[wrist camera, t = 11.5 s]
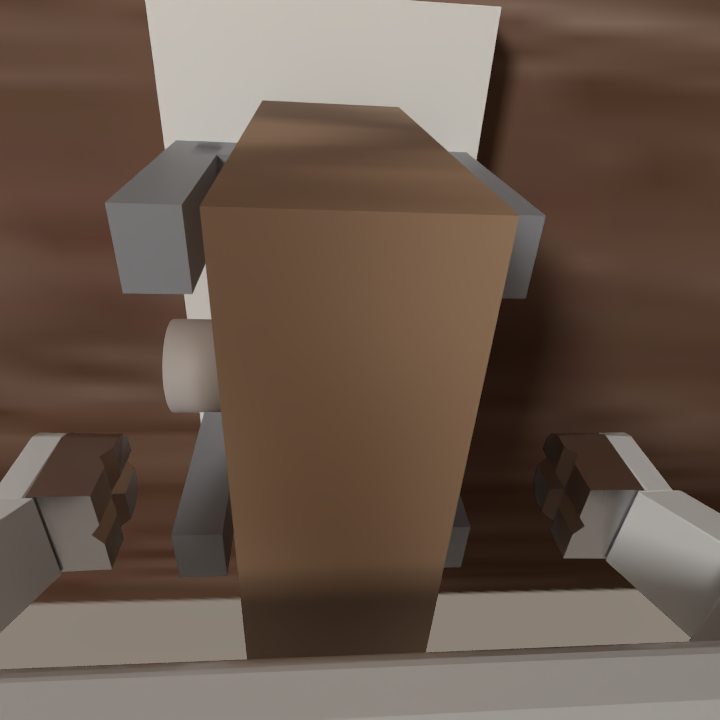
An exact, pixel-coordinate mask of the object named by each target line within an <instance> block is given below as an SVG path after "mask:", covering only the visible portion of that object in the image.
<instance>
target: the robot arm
mask: <svg viewBox="0 0 720 720" xmlns="http://www.w3.org/2000/svg"><path fill="white" fill-rule="evenodd" d="M543 450H544V452H545V454H546V456H547V458H546V459H545V460H544V461H543V462H541V463H540V464H539V465H538V466H537V470H536V474H535V477H534V492H535V496H536V500H537V503H538V505H539V508H540V510H541V512H542V513H543V514H545V515H546V516H547V517H549V518H550V519H551V520H553V523H552V525H551V528H550V531H551V534H552V536H553V538H554V540H555V542H556V544H557V546H558V548H559V550H560V553H561V555H562V557H563V558H607V559H606V561H607V562H608V563H609V564H610V565H611V566H612V567H613V568H614V569H615V570H617V571H618V572H619V573H620V574H621V575H622V576H623V577H624V578H625V579H627V580H628V581H629V582H630V583H631V584H632V585H633V586H634V587H635V588H636V589H638V590H639V591H640V592H641V593H642V594H643V595H644V596H645V597H647V598H648V599H649V600H650V601H651V602H652V603H653V604H654V605H655V606H656V607H658V608H659V609H660V610H661V611H662V612H663V613H664V614H665V615H666V616H668V617H669V618H670V619H671V620H672V621H673V622H674V623H675V624H676V625H678V626H679V627H680V628H681V629H682V630H683V631H684V632H685V633H686V634H687V635H689V636H690V637H691V639H690V641H689V642H670V643H647V644H646V643H645V644H619V645H594V646H570V647H547V648H524V649H501V650H478V651H477V650H475V651H454V652H453V651H451V652H427V653H400V654H375V655H349V656H324V657H298V658H273V659H247V660H223V661H199V662H174V663H149V664H124V665H98V666H76V667H75V666H73V667H49V668H24V669H0V720H720V513H718V512H716V511H715V510H713V509H711V508H710V507H708V506H706V505H704V504H703V503H701V502H699V501H698V500H696V499H694V498H692V497H691V496H689V495H687V494H686V493H684V492H682V491H673V490H672V489H671V488H670V486H669V485H668V484H667V482H666V481H665V480H664V478H663V477H662V476H661V475H660V473H659V472H658V471H657V469H656V468H655V467H654V466H653V464H652V463H651V462H650V460H649V459H648V458H647V456H646V455H645V454H644V453H643V451H642V450H641V449H640V447H639V446H638V445H637V444H636V442H635V441H634V440H633V438H632V437H631V436H630V435H628V434H626V433H625V432H610V433H599V434H598V433H570V434H550V435H549V437H548V438H547V439H546V442H545V445H544V448H543ZM130 452H131V449H130V445H129V441H128V438H127V436H125V435H123V434H95V433H67V434H65V433H38V434H37V435H35V436H33V437H32V438H31V439H30V440H29V442H28V443H27V445H26V446H25V448H24V449H23V451H22V452H21V454H20V455H19V456H18V458H17V459H16V461H15V462H14V464H13V465H12V467H11V468H10V469H9V471H8V472H7V474H6V475H5V477H4V478H3V480H2V481H1V483H0V632H1V631H2V630H4V629H5V628H6V626H8V625H9V624H10V623H11V622H12V621H13V620H14V619H15V618H16V617H17V616H18V615H19V614H20V613H21V612H22V611H23V610H25V608H27V607H28V606H29V605H30V604H31V603H32V602H33V601H34V600H35V599H36V598H37V597H38V596H39V595H40V594H41V593H42V592H43V591H45V590H46V589H47V588H48V587H49V586H50V585H51V584H52V583H53V582H54V581H55V580H56V579H57V578H58V577H59V576H60V575H61V572H65V571H84V570H104V569H112V567H113V565H114V562H115V560H116V557H117V554H118V552H119V549H120V546H121V544H122V541H123V534H122V530H121V526H122V525H123V524H124V523H126V522H127V521H128V520H129V519H131V517H132V514H133V511H134V508H135V504H136V498H137V491H138V488H137V475H136V471H135V468H134V467H133V466H132V465H130V464H129V463H128V462H127V459H128V457H129V454H130Z"/></svg>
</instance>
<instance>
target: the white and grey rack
mask: <svg viewBox="0 0 720 720" xmlns="http://www.w3.org/2000/svg"><path fill="white" fill-rule="evenodd" d="M145 3H146V10H147V18H148V25H149V33H150V40H151V48H152V55H153V63H154V71H155V78H156V86H157V93H158V101H159V108H160V116H161V123H162V131H163V139H164V146H165V150H164V151H163V152H162V153H161V154H160V155H159V156H158V157H156V158H155V159H154V160H153V161H152V162H151V163H150V164H148V165H147V166H146V167H145V168H144V169H143V170H142V171H140V172H139V173H138V174H137V175H136V176H135V177H134V178H132V179H131V180H130V181H129V182H128V183H127V184H126V185H124V186H123V187H122V188H121V189H120V190H119V191H118V192H116V193H115V194H114V195H113V196H112V197H111V198H110V199H109V200H107V201H106V202H105V205H106V210H107V215H108V220H109V225H110V231H111V236H112V241H113V246H114V251H115V256H116V261H117V266H118V271H119V276H120V281H121V286H122V291H123V293H141V294H184V297H185V305H186V312H187V319H211V311H210V301H209V292H208V283H207V273H206V264H205V254H204V245H203V235H202V226H201V216H200V207H199V206H200V205H201V203H202V201H203V199H204V198H205V196H206V194H207V193H208V191H209V189H210V188H211V186H212V184H213V183H214V181H215V179H216V178H217V176H218V174H219V173H220V171H221V169H222V168H223V166H224V164H225V163H226V161H227V159H228V158H229V156H230V154H231V152H232V151H233V149H234V147H235V146H236V144H237V142H238V141H239V139H240V137H241V136H242V134H243V132H244V131H245V129H246V127H247V126H248V124H249V122H250V121H251V119H252V117H253V116H254V114H255V112H256V111H257V109H258V107H259V105H260V104H261V102H262V100H267V101H287V102H307V103H327V104H347V105H367V106H387V107H399V108H400V109H402V110H403V111H404V112H405V113H406V114H407V115H408V116H409V117H410V118H412V119H413V120H414V121H415V122H416V123H417V124H418V125H419V126H420V127H422V128H423V129H424V130H425V131H426V132H427V133H428V134H429V135H430V136H432V137H433V138H434V139H435V140H436V141H437V142H438V143H439V144H440V145H442V146H443V147H444V148H445V149H446V150H447V151H448V152H449V153H450V154H451V155H453V156H454V157H455V158H456V159H457V160H458V161H459V162H460V163H461V164H463V165H464V166H465V167H466V168H467V169H468V170H469V171H470V172H471V173H473V174H474V175H475V176H476V177H477V178H478V179H479V180H480V181H481V182H483V183H484V184H485V185H486V186H487V187H488V188H489V189H490V190H491V191H493V192H494V193H495V194H496V195H497V196H498V197H499V198H500V199H501V200H503V201H504V202H505V203H506V204H507V205H508V206H509V207H510V208H511V209H512V210H514V211H515V212H516V213H517V214H518V215H519V221H518V225H517V230H516V235H515V239H514V244H513V248H512V253H511V258H510V262H509V267H508V272H507V276H506V281H505V286H504V290H503V295H502V298H503V299H526V295H527V291H528V287H529V283H530V279H531V274H532V270H533V266H534V262H535V258H536V254H537V250H538V246H539V241H540V237H541V233H542V229H543V225H544V221H545V217H546V216H545V215H544V214H543V213H541V212H540V211H539V210H538V209H537V208H535V207H534V206H533V205H532V204H530V203H529V202H528V201H527V200H525V199H524V198H523V197H522V196H520V195H519V194H518V193H517V192H515V191H514V190H513V189H512V188H510V187H509V186H508V185H507V184H505V183H504V182H503V181H502V180H500V179H499V178H498V177H497V176H495V175H494V174H493V173H492V172H490V171H489V170H488V169H487V168H485V167H484V166H483V165H482V164H480V163H479V162H478V161H477V153H478V147H479V141H480V135H481V129H482V123H483V117H484V110H485V104H486V98H487V92H488V86H489V80H490V74H491V67H492V61H493V55H494V49H495V43H496V37H497V31H498V25H499V18H500V12H501V7H496V6H482V5H467V4H453V3H439V2H425V1H410V0H145ZM200 418H201V426H200V430H199V434H198V437H197V441H196V445H195V449H194V452H193V456H192V460H191V464H190V467H189V471H188V475H187V479H186V482H185V486H184V490H183V494H182V497H181V501H180V505H179V509H178V512H177V516H176V520H175V524H174V527H173V531H172V535H171V537H172V542H173V547H174V552H175V557H176V562H177V567H178V572H179V577H180V578H185V577H212V576H227V574H228V567H229V560H230V553H231V546H232V540H233V533H234V529H233V520H232V510H231V501H230V491H229V482H228V472H227V463H226V453H225V444H224V434H223V425H222V415H221V412H200ZM469 531H470V524H469V521H468V518H467V514H466V511H465V508H464V505H463V502H462V499H461V496H460V495H459V499H458V504H457V508H456V513H455V518H454V522H453V527H452V532H451V536H450V541H449V546H448V550H447V555H446V560H445V564H444V568H450V567H461V564H462V560H463V556H464V552H465V548H466V543H467V539H468V535H469Z"/></svg>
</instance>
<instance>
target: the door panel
mask: <svg viewBox="0 0 720 720" xmlns="http://www.w3.org/2000/svg"><path fill="white" fill-rule="evenodd" d="M199 207H200V216H201V226H202V235H203V245H204V254H205V264H206V273H207V283H208V292H209V301H210V311H211V319H173V320H171V322H170V323H169V325H168V328H167V331H166V335H165V340H164V348H163V385H164V393H165V398H166V401H167V404H168V407H169V409H170V410H171V411H172V412H221V415H222V425H223V434H224V444H225V453H226V463H227V472H228V482H229V491H230V501H231V510H232V520H233V529H234V539H235V548H236V558H237V567H238V577H239V586H240V596H241V605H242V614H243V623H244V633H245V643H246V652H247V659H273V658H298V657H324V656H349V655H375V654H400V653H425V652H426V648H427V643H428V638H429V634H430V629H431V625H432V620H433V615H434V611H435V606H436V601H437V597H438V592H439V587H440V583H441V578H442V573H443V569H444V564H445V560H446V555H447V550H448V546H449V541H450V536H451V532H452V527H453V522H454V518H455V513H456V508H457V504H458V499H459V495H460V490H461V485H462V481H463V476H464V471H465V467H466V462H467V457H468V453H469V448H470V443H471V439H472V434H473V430H474V425H475V420H476V416H477V411H478V406H479V402H480V397H481V392H482V388H483V383H484V378H485V374H486V369H487V365H488V360H489V355H490V351H491V346H492V341H493V337H494V332H495V327H496V323H497V318H498V313H499V309H500V304H501V300H502V295H503V290H504V286H505V281H506V276H507V272H508V267H509V262H510V258H511V253H512V248H513V244H514V239H515V235H516V230H517V225H518V221H519V215H518V214H517V213H516V212H515V211H514V210H512V209H511V208H510V207H509V206H508V205H507V204H506V203H505V202H504V201H503V200H501V199H500V198H499V197H498V196H497V195H496V194H495V193H494V192H493V191H491V190H490V189H489V188H488V187H487V186H486V185H485V184H484V183H483V182H481V181H480V180H479V179H478V178H477V177H476V176H475V175H474V174H473V173H471V172H470V171H469V170H468V169H467V168H466V167H465V166H464V165H463V164H461V163H460V162H459V161H458V160H457V159H456V158H455V157H454V156H453V155H451V154H450V153H449V152H448V151H447V150H446V149H445V148H444V147H443V146H442V145H440V144H439V143H438V142H437V141H436V140H435V139H434V138H433V137H432V136H430V135H429V134H428V133H427V132H426V131H425V130H424V129H423V128H422V127H420V126H419V125H418V124H417V123H416V122H415V121H414V120H413V119H412V118H410V117H409V116H408V115H407V114H406V113H405V112H404V111H403V110H402V109H400V108H399V107H387V106H367V105H347V104H327V103H307V102H287V101H267V100H262V102H261V104H260V105H259V107H258V109H257V111H256V112H255V114H254V116H253V117H252V119H251V121H250V122H249V124H248V126H247V127H246V129H245V131H244V132H243V134H242V136H241V137H240V139H239V141H238V142H237V144H236V146H235V147H234V149H233V151H232V152H231V154H230V156H229V158H228V159H227V161H226V163H225V164H224V166H223V168H222V169H221V171H220V173H219V174H218V176H217V178H216V179H215V181H214V183H213V184H212V186H211V188H210V189H209V191H208V193H207V194H206V196H205V198H204V199H203V201H202V203H201V205H200V206H199Z"/></svg>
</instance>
